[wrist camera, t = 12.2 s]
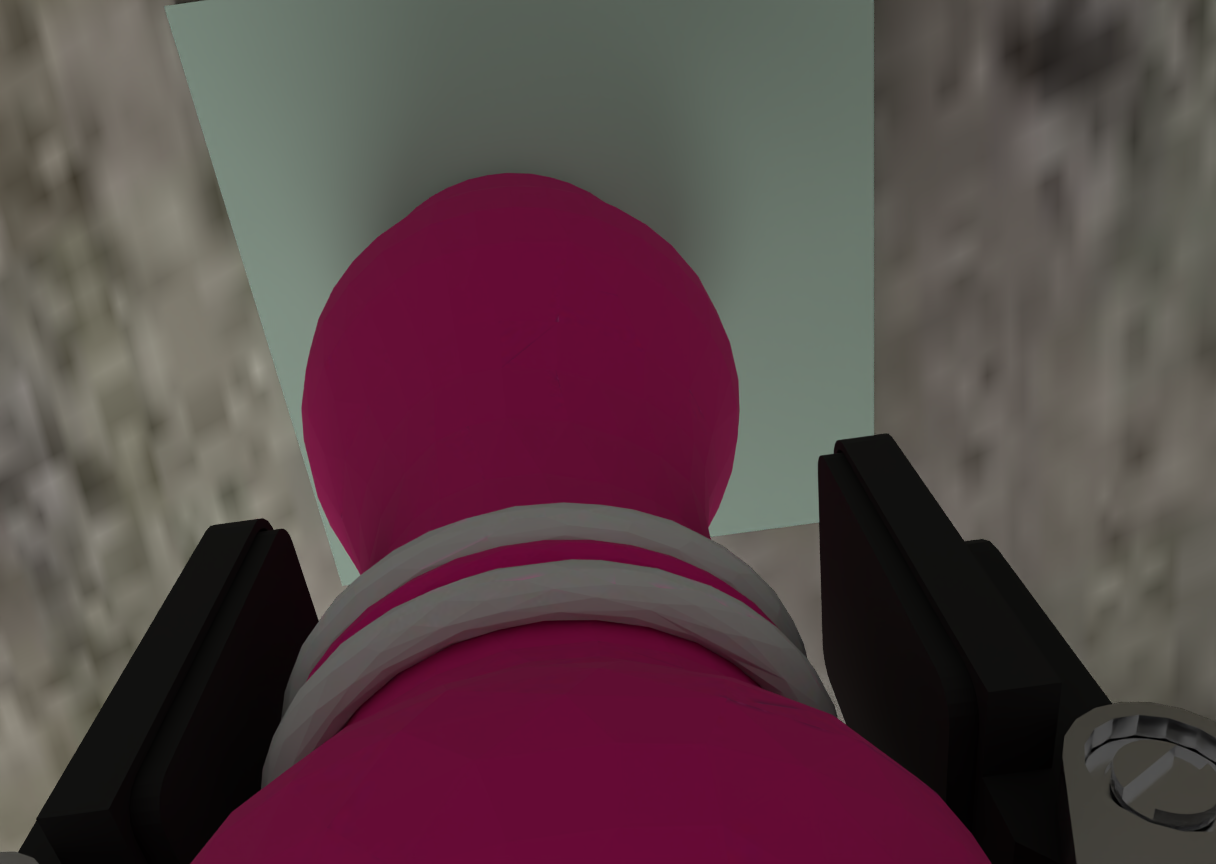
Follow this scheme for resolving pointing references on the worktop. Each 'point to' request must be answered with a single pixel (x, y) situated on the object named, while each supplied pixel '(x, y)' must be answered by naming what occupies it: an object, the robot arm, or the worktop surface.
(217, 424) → the worktop surface
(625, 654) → the pepper mill
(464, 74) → the green mat
